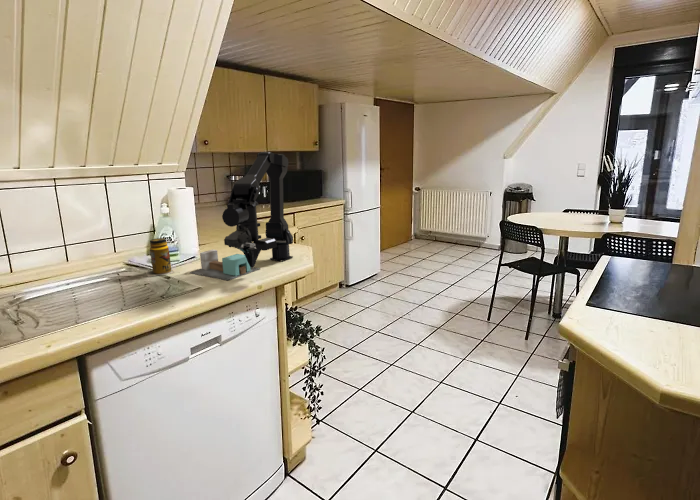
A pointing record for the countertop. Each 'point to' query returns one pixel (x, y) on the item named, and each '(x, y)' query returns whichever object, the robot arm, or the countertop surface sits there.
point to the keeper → (234, 264)
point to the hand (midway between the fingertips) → (252, 266)
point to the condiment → (159, 257)
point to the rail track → (217, 267)
